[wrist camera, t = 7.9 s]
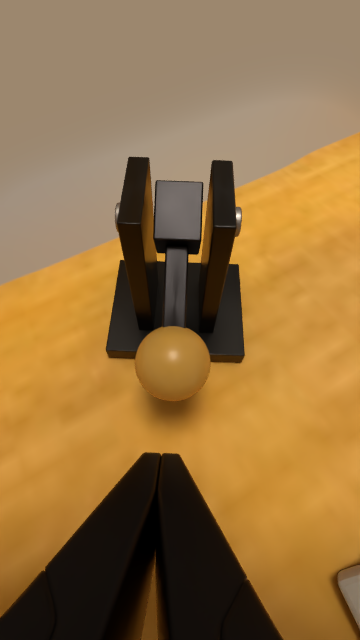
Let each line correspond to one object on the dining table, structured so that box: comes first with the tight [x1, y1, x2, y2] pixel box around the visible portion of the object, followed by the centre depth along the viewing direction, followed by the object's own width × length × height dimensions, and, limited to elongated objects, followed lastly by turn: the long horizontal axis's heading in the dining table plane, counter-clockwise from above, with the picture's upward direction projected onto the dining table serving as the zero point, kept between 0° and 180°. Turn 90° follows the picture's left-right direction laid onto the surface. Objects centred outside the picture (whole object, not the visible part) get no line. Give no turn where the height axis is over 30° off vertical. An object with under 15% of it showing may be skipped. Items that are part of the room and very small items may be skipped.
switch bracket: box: [106, 157, 245, 362], centre depth 19 cm, size 8×9×11 cm
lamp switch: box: [135, 180, 210, 401], centre depth 16 cm, size 10×4×4 cm, turn 177°
